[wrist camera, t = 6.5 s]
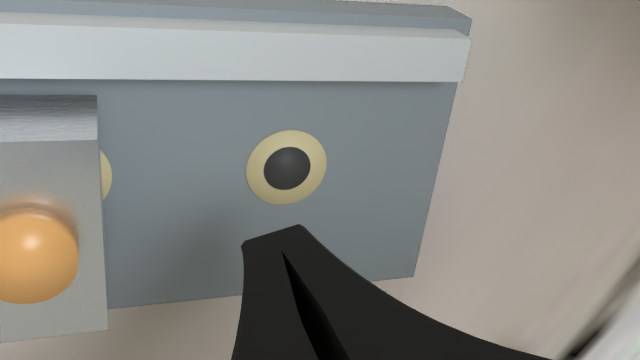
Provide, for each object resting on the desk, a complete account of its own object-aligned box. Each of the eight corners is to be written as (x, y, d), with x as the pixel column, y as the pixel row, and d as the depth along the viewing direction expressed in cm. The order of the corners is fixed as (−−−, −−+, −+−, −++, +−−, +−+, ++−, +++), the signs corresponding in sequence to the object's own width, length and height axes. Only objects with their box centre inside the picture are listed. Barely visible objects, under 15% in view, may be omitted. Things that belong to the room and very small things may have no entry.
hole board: (446, 6, 19) (540, 53, 15) (395, 252, 23) (457, 340, 19) (-587, -48, 12) (-937, 15, 8) (-387, 323, 16) (-546, 486, 12)
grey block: (97, 89, 15) (97, 153, 12) (106, 260, 17) (108, 348, 14) (-46, 89, 14) (-83, 158, 11) (-15, 270, 16) (-39, 365, 13)
